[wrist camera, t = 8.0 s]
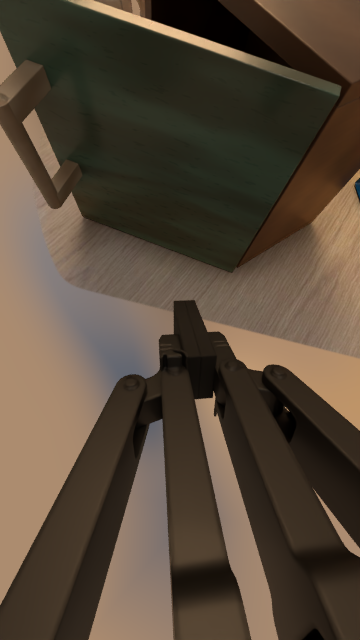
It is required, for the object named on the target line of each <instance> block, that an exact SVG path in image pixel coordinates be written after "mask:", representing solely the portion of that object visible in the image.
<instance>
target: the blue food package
mask: <svg viewBox="0 0 360 640" xmlns="http://www.w3.org/2000/svg"><path fill="white" fill-rule="evenodd" d="M355 186H356V189H357V192H358V196H359V199H360V178H359V179H358V180H357V181H356V182H355Z"/></svg>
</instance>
